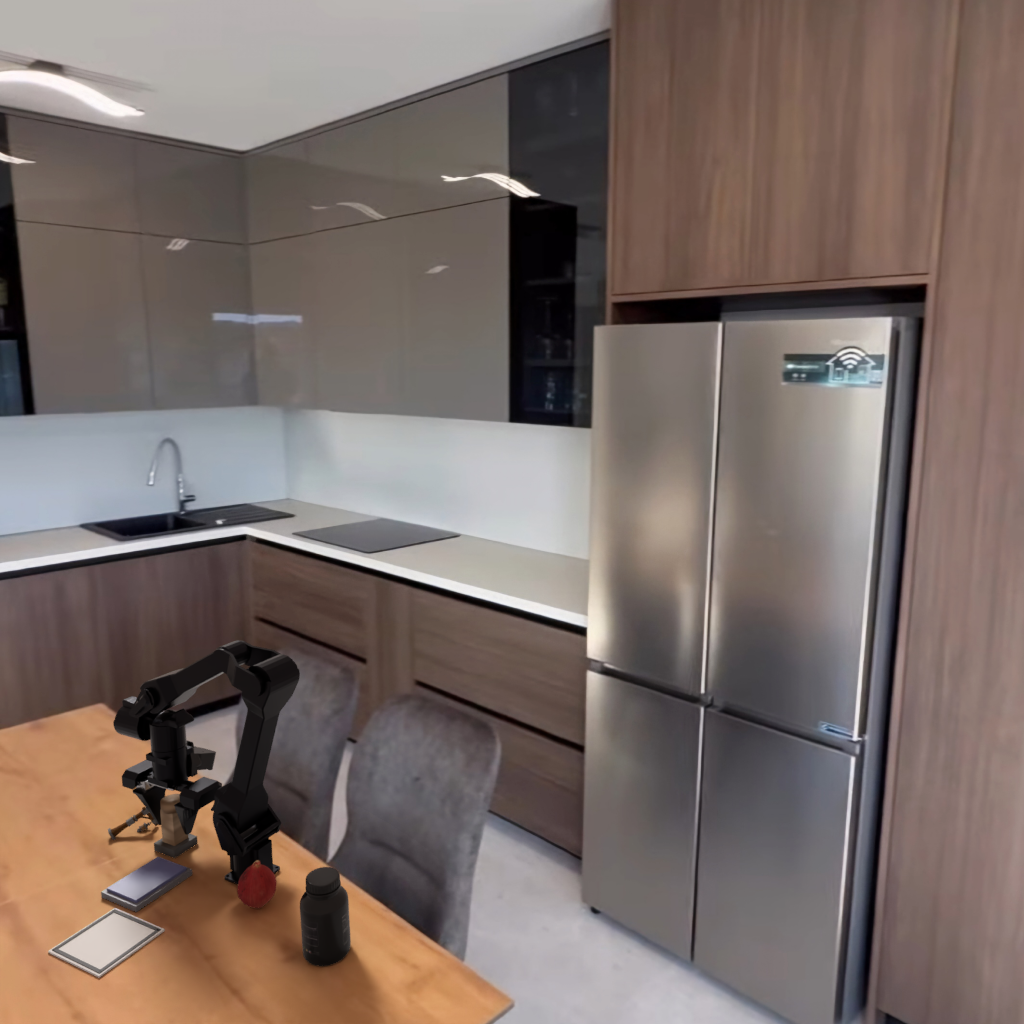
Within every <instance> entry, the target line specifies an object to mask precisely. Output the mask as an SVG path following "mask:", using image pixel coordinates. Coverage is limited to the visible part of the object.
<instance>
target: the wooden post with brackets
mask: <svg viewBox="0 0 1024 1024" xmlns="http://www.w3.org/2000/svg"><path fill="white" fill-rule="evenodd" d="M141 808H142V809H140V811H139V812H137V813H136V814H133V816H131V817H129V818H128V819H126V820H125V822H123V823H122V824H119V825H118V826H116V827H114V828H110V827H109V828H107V833H108V835H109V836H110V838H111V839H112V840H113V841H115V840H116V839H117V836H118V835H119V834H120V833H121V832H123V831H124V830H125V829H127V828H128V827H130V826H133V824H134V825H135V824H136V822H138V821H139V820H140V819H147V820H149V822H147V823H146V822H143V824H141V825H139V826H138V828H137V830H136V832H137V833H140V832H141V831H142V832H143V831H145V830H148V829H149V828H148V827H149V826H150V825H151V824H152V825H153V826H155V827H157V826H159V825H158V824H157V822H156V821H155V819H154V818H153V817H152V815H151V814H150V812H149V811H148V810H147V808H146V807H145V806H142V807H141Z"/></svg>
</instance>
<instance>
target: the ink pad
mask: <svg viewBox="0 0 1024 1024" xmlns="http://www.w3.org/2000/svg"><path fill="white" fill-rule="evenodd" d="M191 876H193V869H192V868H190V867H187V866H185V865H182V864H180V863H176V862H174V861H172V860H169V859H165V858H163V857H161V856H156V857H155V858H153V859H152V860H150V861H148V862H147V863H144V865H141V866H140V867H139V868H137V869H135V870H134V871H132V872H131V873H129V874H127V875H125V876H123V877H122V878H121V879H119V880H117V881H116V882H114V883H113V884H111V885H109V886H107V887H106V888H105V889H103V890H102V891H101V892H100V896H101V897H100V898H102V899H104V900H106V899H107V900H106V901H108V900H109V901H108V902H111V903H113V902H114V903H113V904H115V903H117V904H116V905H118V904H119V905H118V906H120V905H121V906H120V907H122V906H123V908H125V909H127V908H128V909H127V910H129V909H130V910H129V911H132V912H134V911H135V913H137V912H139V911H140V910H142V909H143V908H145V907H147V906H148V905H150V904H151V903H152V902H154V901H156V900H157V899H159V898H160V897H161V896H163V895H165V894H166V893H167V892H169V891H170V890H172V889H174V888H175V887H176V886H178V885H179V884H181V883H183V882H184V881H185V880H187V879H188V878H190V877H191ZM159 896H160V897H159ZM153 900H154V901H153ZM150 902H151V903H150ZM147 904H148V905H147ZM144 906H145V907H144ZM141 908H142V909H141Z"/></svg>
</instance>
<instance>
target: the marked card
mask: <svg viewBox="0 0 1024 1024" xmlns="http://www.w3.org/2000/svg"><path fill="white" fill-rule="evenodd" d="M165 931H166V929H165V928H163V927H160V926H158V925H156V924H154V923H152V922H149V921H147V920H145V919H142V918H140V917H137V916H136V915H132V914H131V913H129V912H126V911H124V910H121V909H119V908H116V907H114V908H113V909H111V910H109V911H108V912H106V913H105V914H103V915H101V916H100V917H98V918H97V919H95V920H93V921H92V922H91V923H89V924H87V925H86V926H85V927H82V928H81V929H80V930H78V931H77V932H75V933H73V934H72V935H70V936H69V937H68V938H66V939H64V940H63V941H61V942H60V943H59V944H56V945H55V946H53V947H52V948H50V949H49V950H47V952H48V953H47V954H50V955H52V956H54V957H56V958H58V959H60V960H62V961H64V962H65V963H68V964H70V965H72V966H74V967H76V968H78V969H79V970H82V971H85V972H86V973H89V974H90V975H92V976H95V977H96V978H99V979H100V978H101V977H102V976H104V975H105V974H106V973H108V972H109V971H110V970H112V969H114V968H115V967H116V966H118V965H120V964H121V963H123V962H124V961H125V960H126V959H128V958H129V957H131V956H132V955H133V954H135V953H136V952H137V951H139V950H141V949H142V948H143V947H144V946H146V945H147V944H149V943H150V942H151V941H153V940H154V939H155V938H157V937H158V936H160V935H161V934H163V933H164V932H165ZM110 972H111V971H110Z"/></svg>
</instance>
